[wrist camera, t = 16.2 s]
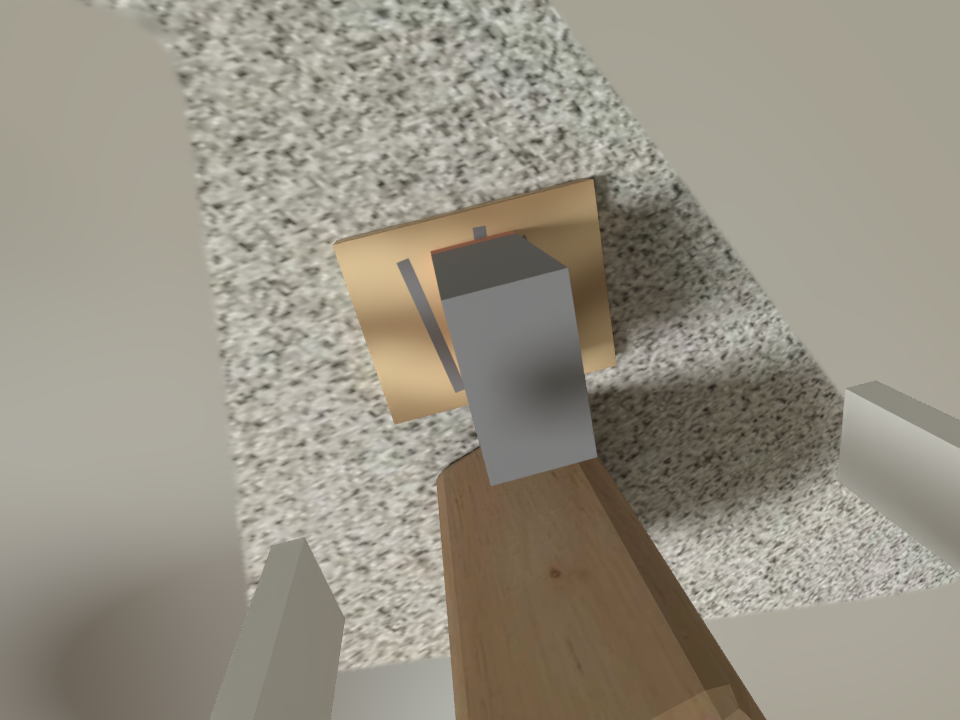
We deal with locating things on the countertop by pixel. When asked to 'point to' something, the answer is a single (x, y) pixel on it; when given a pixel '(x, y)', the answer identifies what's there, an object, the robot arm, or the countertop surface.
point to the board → (416, 300)
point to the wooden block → (570, 606)
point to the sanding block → (517, 354)
